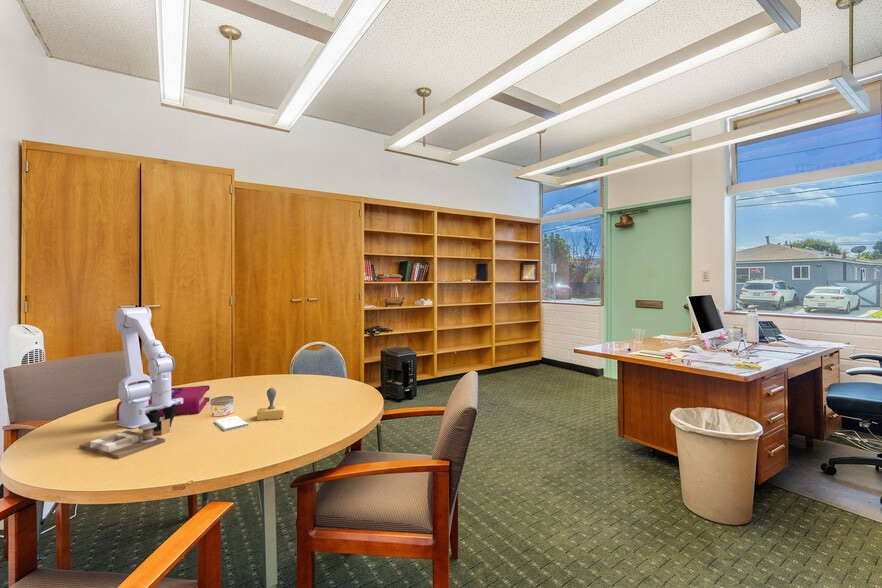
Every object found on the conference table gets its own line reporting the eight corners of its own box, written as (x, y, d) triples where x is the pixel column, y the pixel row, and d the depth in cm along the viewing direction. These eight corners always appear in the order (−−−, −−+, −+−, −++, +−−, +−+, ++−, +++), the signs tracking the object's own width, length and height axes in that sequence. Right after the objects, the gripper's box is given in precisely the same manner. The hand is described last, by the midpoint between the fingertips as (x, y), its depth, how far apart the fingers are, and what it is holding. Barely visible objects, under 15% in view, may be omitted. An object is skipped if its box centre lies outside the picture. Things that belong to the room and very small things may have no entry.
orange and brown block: (153, 433, 143) (153, 419, 142) (162, 430, 145) (162, 417, 145) (161, 435, 141) (161, 421, 141) (170, 432, 144) (169, 418, 144)
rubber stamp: (256, 420, 157) (256, 390, 157) (259, 415, 163) (259, 386, 162) (283, 419, 159) (283, 389, 159) (285, 414, 165) (285, 385, 164)
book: (199, 415, 164) (198, 396, 164) (116, 422, 155) (115, 402, 154) (210, 400, 184) (210, 383, 183) (137, 405, 175) (137, 388, 174)
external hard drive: (224, 433, 145) (214, 424, 154) (248, 427, 151) (237, 419, 160) (224, 428, 145) (214, 419, 154) (248, 423, 151) (237, 415, 160)
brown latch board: (79, 448, 130) (79, 429, 129) (126, 433, 143) (126, 416, 142) (118, 458, 122) (118, 439, 122) (165, 441, 135) (164, 424, 135)
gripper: (147, 397, 135) (148, 437, 135) (188, 387, 148) (189, 423, 148) (134, 395, 137) (134, 434, 138) (175, 385, 151) (176, 421, 151)
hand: (162, 428), depth 143 cm, fingers open, 4 cm apart
